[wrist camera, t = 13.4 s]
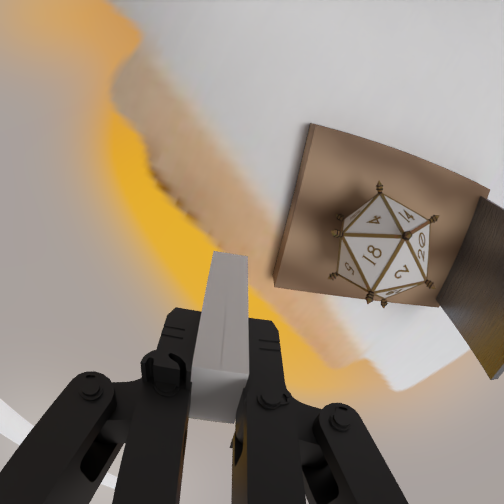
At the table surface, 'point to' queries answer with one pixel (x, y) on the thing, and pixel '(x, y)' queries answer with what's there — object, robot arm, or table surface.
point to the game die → (384, 247)
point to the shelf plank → (355, 195)
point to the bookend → (479, 287)
